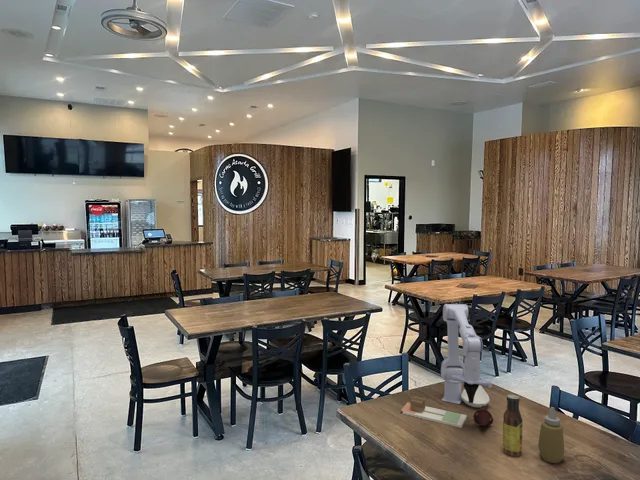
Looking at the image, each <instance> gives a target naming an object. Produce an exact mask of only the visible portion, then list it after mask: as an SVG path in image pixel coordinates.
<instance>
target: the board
mask: <svg viewBox="0 0 640 480" xmlns="http://www.w3.org/2000/svg"><path fill="white" fill-rule="evenodd" d="M400 412H402V415H404V414H406V415H405V416H409V415H410V417H413V416H414V418H417V417H418V419H421V418H422V420H425V421H431V422H434V423H440V424H444V425H447V426H452V427H456V428H460V429H462V428H463V426H464V424H465V423H466V422H465V421H466V420H467V414H463V413H458V412H453V411H448V410H444V409H439V408H435V407H431V406H426V405H425V409H424V410H423V412H418V411H413V410H410V402H409V401H408V402H406V404H404V406H403V407H402V408H401V409H400Z"/></svg>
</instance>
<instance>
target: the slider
mask: <svg viewBox="0 0 640 480" xmlns="http://www.w3.org/2000/svg"><path fill="white" fill-rule="evenodd" d="M409 401H410V402H409V403H410V410H413V411H418V412H423V410H424V409H425V406H426V398H424V397H420V396H413V397H412V398H411V399H410V400H409Z"/></svg>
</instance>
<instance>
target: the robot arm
mask: <svg viewBox="0 0 640 480" xmlns="http://www.w3.org/2000/svg"><path fill="white" fill-rule="evenodd" d="M468 317H469V308H468V305H467V304H466V303H463V304H458V303H456V304H454V303H444V305H443V308H442V321H444V322H446V326H447V328H446V329H447V357H446V358H445V359H444V360H442V362H441V365H440V366H441V368H440V375H441V379H442V380H444V388H443V389H444V392H443V393H444V394H443V397H442V398H441V401H443V402H447V403H452V404H457V405H461V403H462V401H463V399H462V397H461V394H462V392H463V389H465V390H466V393H467V395H468V399H469V403H473V401H474V396H475V393H476V391H477V389H478V387H479V385H480V386H482V387H487V388H488V389H492V387H493V381H490V380H486V379H484V378H480V373H481V353H482V352H483V348H484V344H483V339H482V337H480V336H479V335H477V333H476V331H475V329H474V327H473V326H472V325H471V324H469V321H468ZM459 334H460V337H461V339H462V349H463V350H462V351H463V357H464V359H463V360H464V361H462V360H461V359H460V355H459V354H460V353H459V351H460V349H459V347H460V346H459V343H460V341H459Z"/></svg>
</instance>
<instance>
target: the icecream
mask: <svg viewBox="0 0 640 480" xmlns="http://www.w3.org/2000/svg"><path fill="white" fill-rule="evenodd" d="M473 420H474V423H475V424H477V425H478V426H479V427H481V428H482V427H483V428H489V427H490V426H491V425H492V424H493V423H494V418H493V415H492V413H491V412H490V411H489V410H488V409H487V405H486V406H484V405H483V406H481V407H480V408H479V409H477V410H476V411H475V412H474V413H473Z"/></svg>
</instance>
